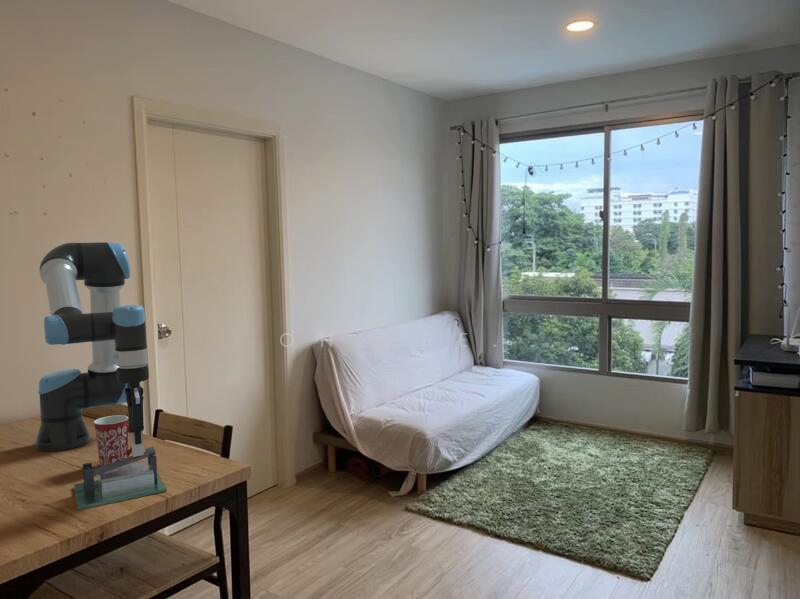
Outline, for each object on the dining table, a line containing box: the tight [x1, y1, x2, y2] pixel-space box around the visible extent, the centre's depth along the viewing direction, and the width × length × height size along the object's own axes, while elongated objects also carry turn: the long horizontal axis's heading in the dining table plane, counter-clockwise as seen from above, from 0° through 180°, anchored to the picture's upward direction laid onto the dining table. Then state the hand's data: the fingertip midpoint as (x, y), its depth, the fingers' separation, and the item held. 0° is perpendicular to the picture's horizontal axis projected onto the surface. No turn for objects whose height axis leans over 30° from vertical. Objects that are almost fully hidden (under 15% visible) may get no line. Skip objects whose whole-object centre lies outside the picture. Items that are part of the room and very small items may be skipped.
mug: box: [93, 414, 132, 467], centre depth 172 cm, size 13×9×14 cm
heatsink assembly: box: [73, 454, 168, 511], centre depth 153 cm, size 20×16×8 cm
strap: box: [92, 446, 157, 477], centre depth 153 cm, size 17×3×2 cm, turn 121°
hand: (138, 455), depth 155 cm, fingers closed
